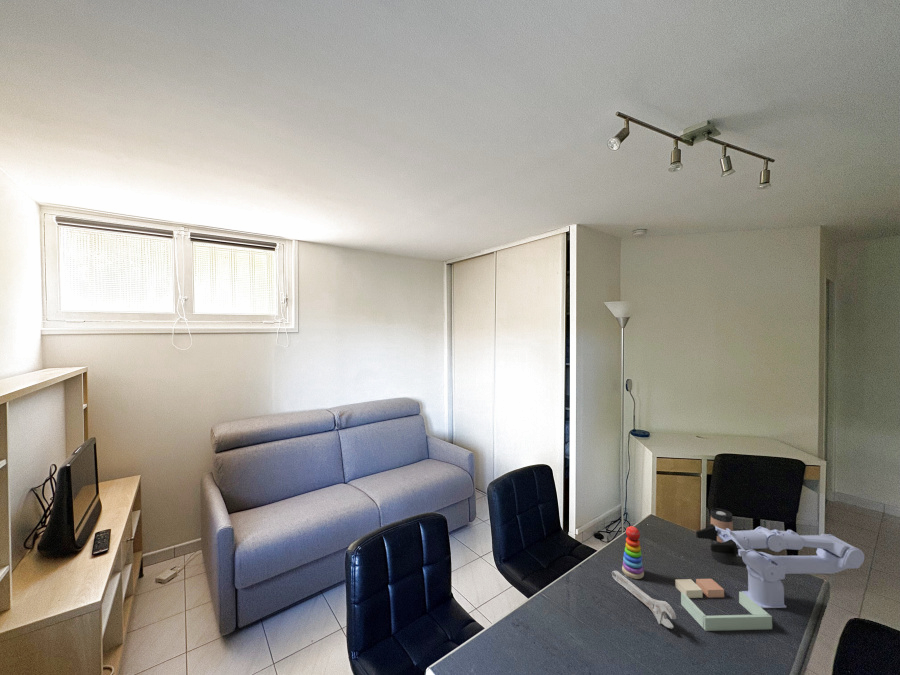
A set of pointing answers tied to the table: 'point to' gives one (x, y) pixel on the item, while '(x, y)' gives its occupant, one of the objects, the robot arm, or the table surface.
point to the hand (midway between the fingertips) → (703, 541)
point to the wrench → (648, 600)
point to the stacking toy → (633, 554)
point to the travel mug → (722, 521)
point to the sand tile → (689, 588)
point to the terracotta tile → (710, 588)
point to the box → (731, 616)
